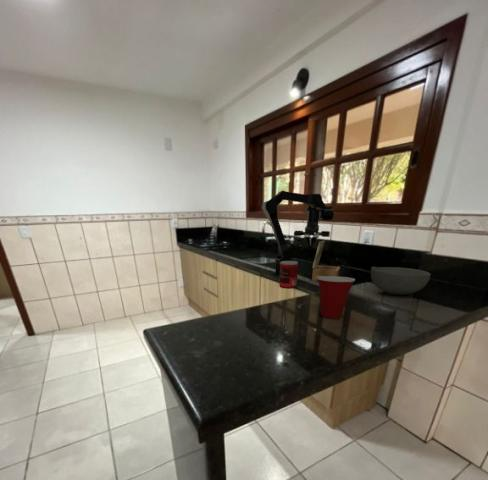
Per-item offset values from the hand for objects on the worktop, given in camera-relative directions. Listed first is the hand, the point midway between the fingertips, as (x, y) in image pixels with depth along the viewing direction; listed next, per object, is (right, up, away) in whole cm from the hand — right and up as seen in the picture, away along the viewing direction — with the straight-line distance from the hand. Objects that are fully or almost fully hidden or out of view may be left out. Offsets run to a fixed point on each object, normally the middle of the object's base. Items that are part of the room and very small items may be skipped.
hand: (310, 250), depth 146 cm
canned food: (-17, -25, -29) cm, 42 cm away
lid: (+1, -6, -15) cm, 17 cm away
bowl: (+24, -30, -41) cm, 56 cm away
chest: (+5, -19, -13) cm, 23 cm away
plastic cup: (-10, -39, -66) cm, 77 cm away
